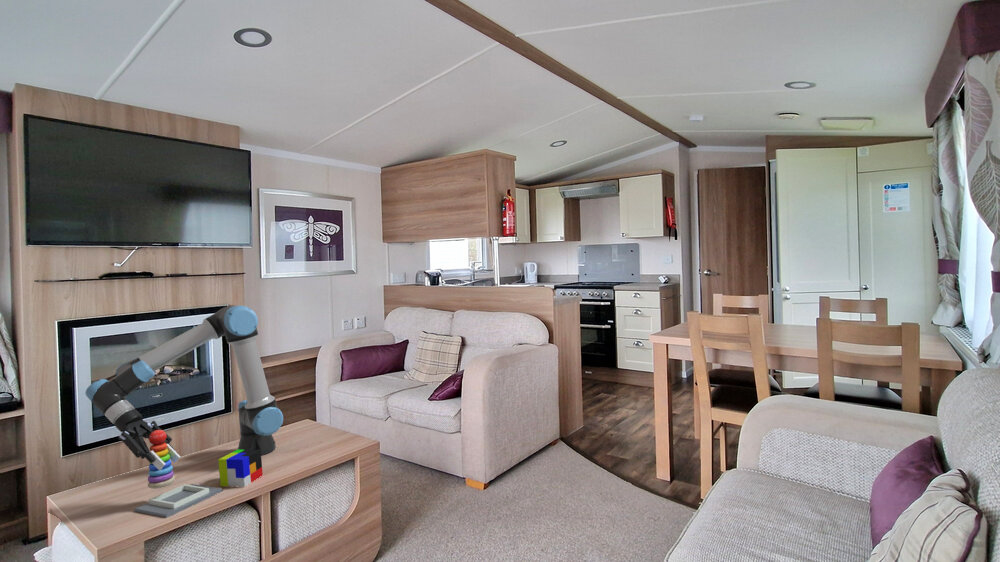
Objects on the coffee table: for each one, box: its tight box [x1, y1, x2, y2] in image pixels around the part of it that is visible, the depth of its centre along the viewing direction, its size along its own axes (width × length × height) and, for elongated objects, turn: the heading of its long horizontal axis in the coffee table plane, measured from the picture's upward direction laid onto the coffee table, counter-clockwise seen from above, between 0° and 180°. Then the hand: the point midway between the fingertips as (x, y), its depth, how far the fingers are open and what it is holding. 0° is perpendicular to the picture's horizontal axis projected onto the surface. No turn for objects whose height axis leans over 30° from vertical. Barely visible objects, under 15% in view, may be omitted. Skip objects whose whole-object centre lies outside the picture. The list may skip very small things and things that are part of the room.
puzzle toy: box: [217, 449, 264, 488], centre depth 193 cm, size 10×10×10 cm
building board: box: [134, 483, 223, 519], centre depth 178 cm, size 20×16×2 cm
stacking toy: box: [147, 429, 176, 490], centre depth 178 cm, size 8×8×19 cm
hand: (170, 463), depth 178 cm, fingers closed on stacking toy, 6 cm apart
